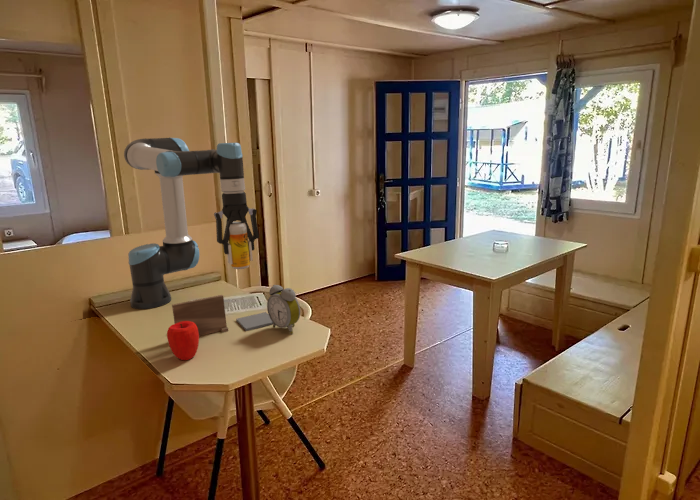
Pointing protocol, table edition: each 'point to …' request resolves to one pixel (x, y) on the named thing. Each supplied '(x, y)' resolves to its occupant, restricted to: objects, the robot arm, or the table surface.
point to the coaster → (255, 321)
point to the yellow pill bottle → (239, 245)
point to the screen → (203, 314)
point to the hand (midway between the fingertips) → (240, 261)
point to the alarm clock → (283, 307)
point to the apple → (183, 339)
